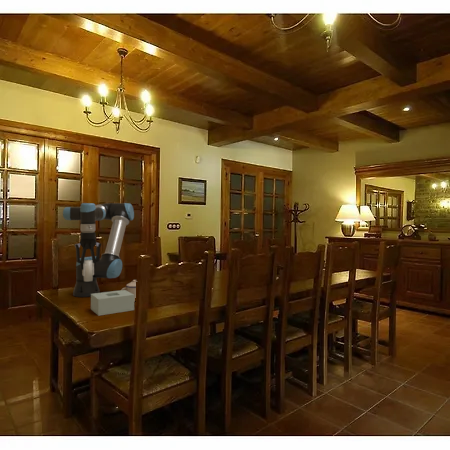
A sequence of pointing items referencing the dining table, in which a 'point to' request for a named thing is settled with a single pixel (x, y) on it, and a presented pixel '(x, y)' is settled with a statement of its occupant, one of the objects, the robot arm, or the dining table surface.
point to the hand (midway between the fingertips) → (88, 275)
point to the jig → (112, 302)
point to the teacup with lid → (131, 288)
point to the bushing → (88, 270)
